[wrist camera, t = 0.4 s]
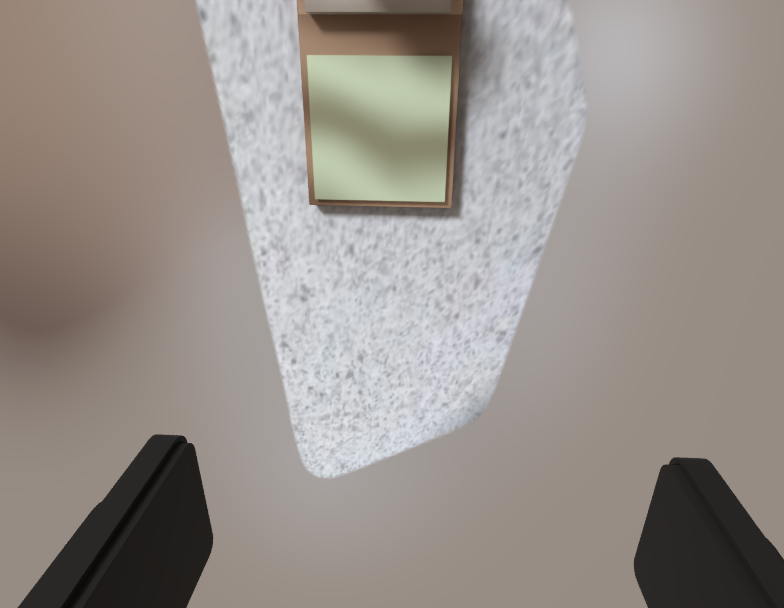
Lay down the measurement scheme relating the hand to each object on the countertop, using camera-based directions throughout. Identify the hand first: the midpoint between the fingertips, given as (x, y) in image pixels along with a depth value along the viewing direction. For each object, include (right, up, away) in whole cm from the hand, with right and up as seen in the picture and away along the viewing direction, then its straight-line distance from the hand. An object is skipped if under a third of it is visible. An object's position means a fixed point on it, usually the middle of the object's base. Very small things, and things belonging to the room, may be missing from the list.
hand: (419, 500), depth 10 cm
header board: (-1, +21, +22) cm, 30 cm away
